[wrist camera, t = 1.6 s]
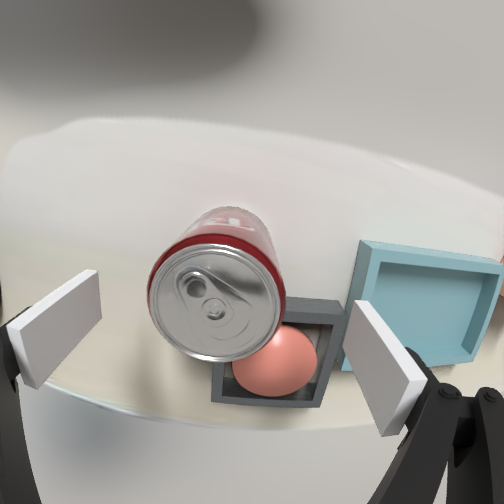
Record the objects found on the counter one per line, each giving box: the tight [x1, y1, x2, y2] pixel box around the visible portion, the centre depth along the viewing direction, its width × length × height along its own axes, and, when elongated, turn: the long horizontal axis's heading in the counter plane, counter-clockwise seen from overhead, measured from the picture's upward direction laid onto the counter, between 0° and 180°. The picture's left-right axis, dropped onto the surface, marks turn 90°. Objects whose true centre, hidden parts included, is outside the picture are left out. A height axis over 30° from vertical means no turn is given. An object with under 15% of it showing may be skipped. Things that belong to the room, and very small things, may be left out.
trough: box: [336, 240, 504, 371], centre depth 26 cm, size 18×12×3 cm, turn 84°
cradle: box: [211, 297, 347, 408], centre depth 27 cm, size 11×11×3 cm
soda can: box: [147, 206, 286, 362], centre depth 20 cm, size 7×7×12 cm
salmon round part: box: [232, 324, 317, 396], centre depth 27 cm, size 8×8×2 cm
